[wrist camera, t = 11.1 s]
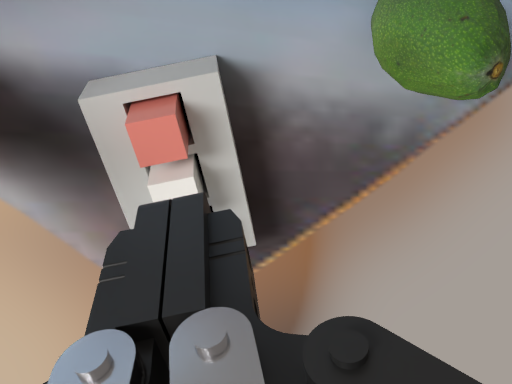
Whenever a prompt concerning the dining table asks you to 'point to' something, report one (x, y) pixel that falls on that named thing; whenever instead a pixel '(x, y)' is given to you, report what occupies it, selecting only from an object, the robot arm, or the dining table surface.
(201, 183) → the white key
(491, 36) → the avocado
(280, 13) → the dining table surface
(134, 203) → the button panel
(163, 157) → the red key
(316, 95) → the dining table surface
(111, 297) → the robot arm
